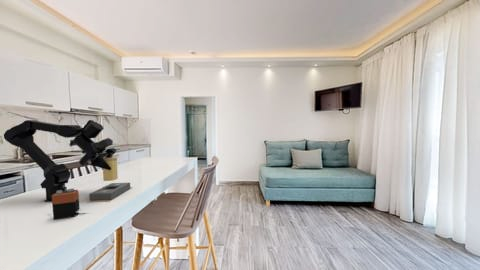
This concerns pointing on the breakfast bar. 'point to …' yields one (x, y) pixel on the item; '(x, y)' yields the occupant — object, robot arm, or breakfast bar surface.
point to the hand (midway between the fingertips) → (113, 168)
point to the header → (109, 192)
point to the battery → (65, 203)
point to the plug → (110, 174)
